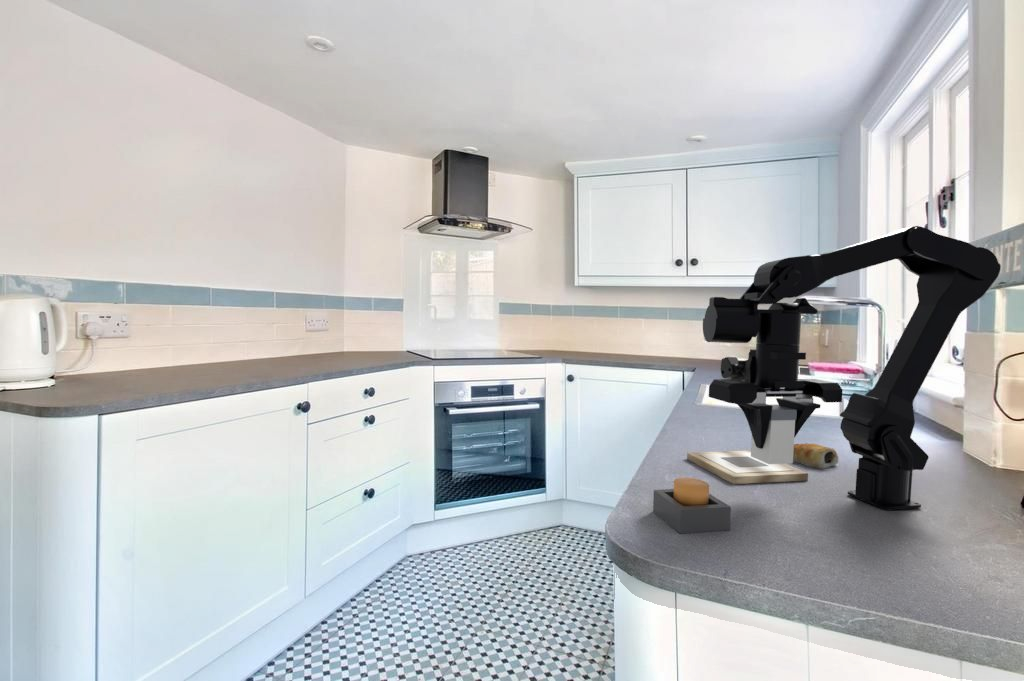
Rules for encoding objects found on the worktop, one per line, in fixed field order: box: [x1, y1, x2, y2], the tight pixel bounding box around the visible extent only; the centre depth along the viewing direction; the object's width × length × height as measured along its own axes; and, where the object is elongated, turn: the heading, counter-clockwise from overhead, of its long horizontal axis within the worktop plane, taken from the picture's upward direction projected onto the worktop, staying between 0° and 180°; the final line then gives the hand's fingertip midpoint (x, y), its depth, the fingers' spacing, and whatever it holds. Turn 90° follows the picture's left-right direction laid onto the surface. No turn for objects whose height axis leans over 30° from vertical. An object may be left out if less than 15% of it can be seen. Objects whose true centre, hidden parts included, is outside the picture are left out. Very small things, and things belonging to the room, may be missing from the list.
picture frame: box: [686, 449, 809, 485], centre depth 88 cm, size 14×14×1 cm
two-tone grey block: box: [750, 404, 797, 465], centre depth 74 cm, size 4×4×8 cm
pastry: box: [793, 442, 840, 469], centre depth 95 cm, size 9×7×4 cm
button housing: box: [652, 488, 732, 534], centre depth 65 cm, size 7×7×3 cm
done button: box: [673, 477, 710, 506], centre depth 65 cm, size 4×4×2 cm
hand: (772, 447), depth 74 cm, fingers closed on two-tone grey block, 4 cm apart
